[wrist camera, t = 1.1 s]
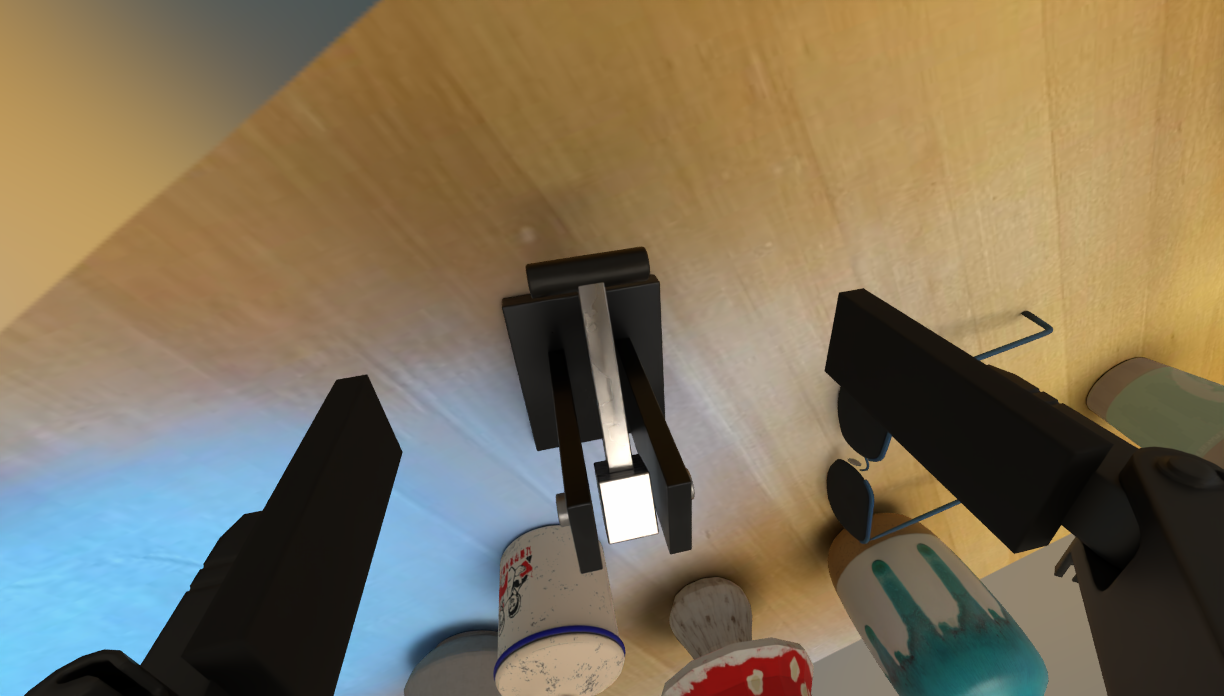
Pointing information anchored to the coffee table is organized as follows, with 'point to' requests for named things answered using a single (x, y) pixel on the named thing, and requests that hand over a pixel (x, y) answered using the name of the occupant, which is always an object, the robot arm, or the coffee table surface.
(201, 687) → the robot arm
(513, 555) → the teacup with lid
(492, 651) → the coffee pot
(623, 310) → the black lever stand
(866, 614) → the vase
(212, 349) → the coffee table surface
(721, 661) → the decorative mushroom
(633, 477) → the lever
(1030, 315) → the sunglasses
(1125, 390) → the coffee cup
